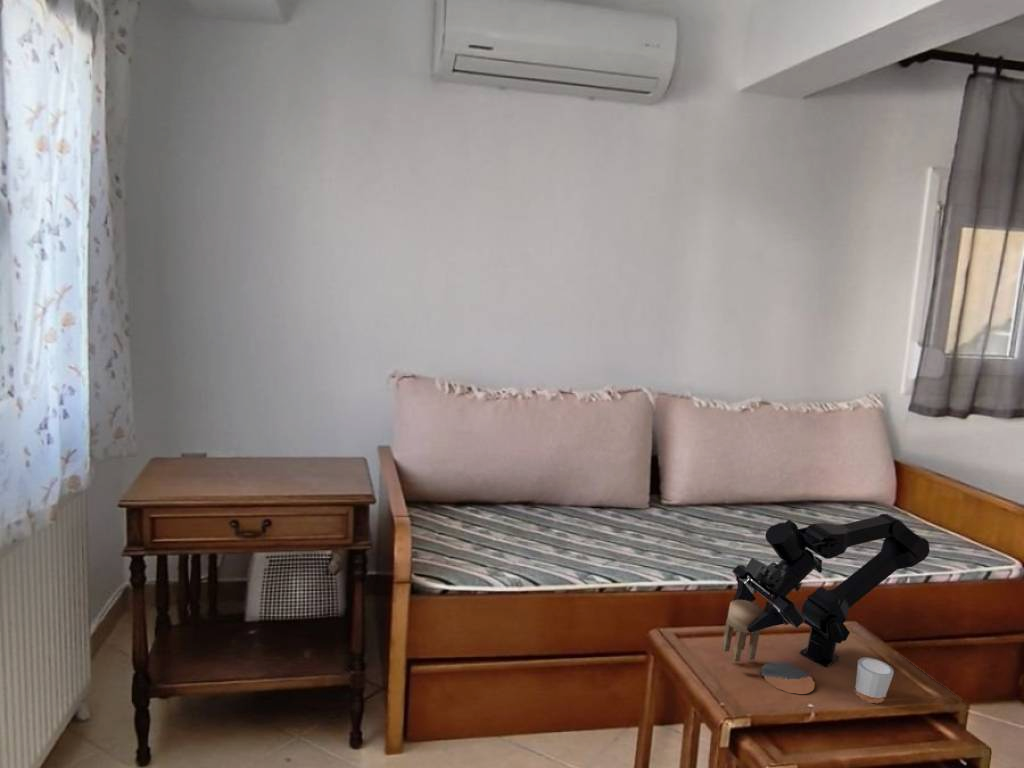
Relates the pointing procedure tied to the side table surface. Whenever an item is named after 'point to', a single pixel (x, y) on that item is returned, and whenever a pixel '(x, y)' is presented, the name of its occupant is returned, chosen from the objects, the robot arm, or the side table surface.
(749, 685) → the side table surface
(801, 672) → the mat
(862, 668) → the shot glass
